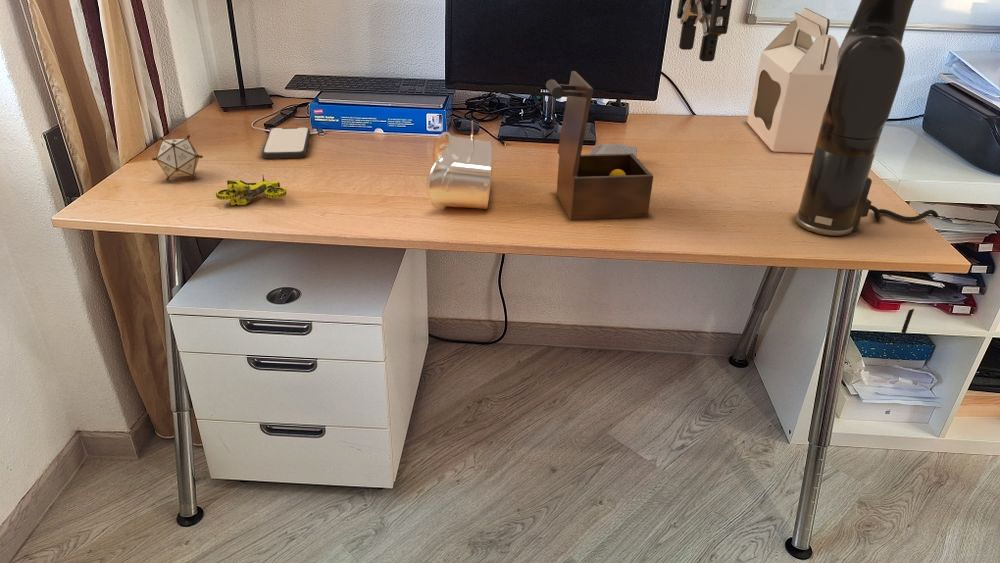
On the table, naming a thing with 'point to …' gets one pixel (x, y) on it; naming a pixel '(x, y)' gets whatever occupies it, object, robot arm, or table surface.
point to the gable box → (794, 85)
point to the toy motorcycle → (250, 191)
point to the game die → (177, 157)
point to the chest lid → (572, 118)
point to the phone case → (286, 143)
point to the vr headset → (460, 172)
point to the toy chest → (605, 187)
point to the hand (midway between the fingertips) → (695, 54)
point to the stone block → (613, 149)
